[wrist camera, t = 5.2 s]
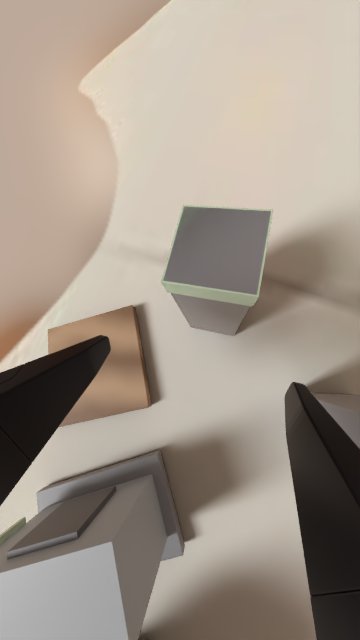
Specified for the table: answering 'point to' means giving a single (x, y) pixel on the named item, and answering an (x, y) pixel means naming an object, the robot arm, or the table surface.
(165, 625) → the table surface
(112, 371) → the walnut pad
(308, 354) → the table surface
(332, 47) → the table surface
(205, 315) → the block
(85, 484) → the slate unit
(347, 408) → the block
